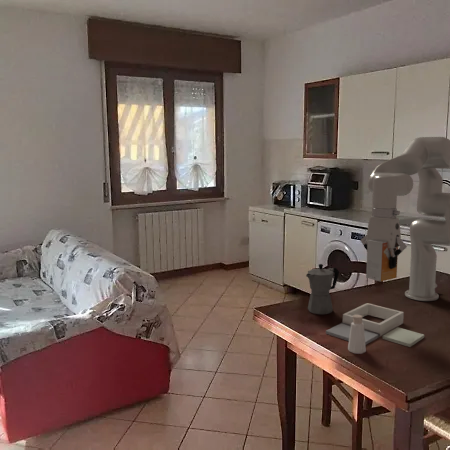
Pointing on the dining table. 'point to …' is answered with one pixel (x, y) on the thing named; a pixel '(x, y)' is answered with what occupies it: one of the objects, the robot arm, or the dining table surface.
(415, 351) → the dining table surface
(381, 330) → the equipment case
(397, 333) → the rubber mat
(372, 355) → the dining table surface
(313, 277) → the coffeepot
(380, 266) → the small box
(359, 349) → the pepper shaker
